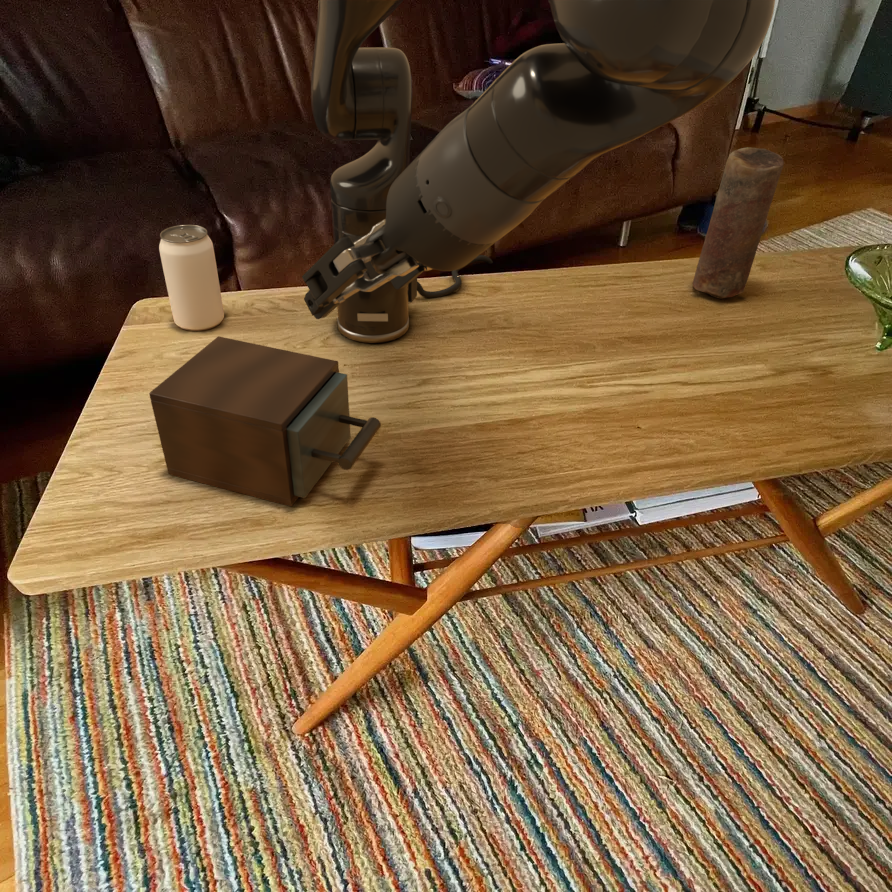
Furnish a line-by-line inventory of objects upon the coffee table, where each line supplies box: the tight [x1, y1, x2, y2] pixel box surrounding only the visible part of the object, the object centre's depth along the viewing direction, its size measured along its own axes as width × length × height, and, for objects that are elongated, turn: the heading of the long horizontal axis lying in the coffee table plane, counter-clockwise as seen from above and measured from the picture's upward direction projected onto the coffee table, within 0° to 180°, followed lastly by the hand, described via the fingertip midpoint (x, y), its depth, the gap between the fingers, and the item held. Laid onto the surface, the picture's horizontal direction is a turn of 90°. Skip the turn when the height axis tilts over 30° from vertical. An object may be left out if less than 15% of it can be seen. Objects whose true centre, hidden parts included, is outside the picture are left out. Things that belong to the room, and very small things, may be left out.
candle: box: [692, 146, 785, 299], centre depth 107 cm, size 8×7×20 cm
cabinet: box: [148, 336, 340, 507], centre depth 75 cm, size 14×12×10 cm
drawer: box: [287, 372, 382, 499], centre depth 74 cm, size 17×10×8 cm, turn 71°
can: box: [158, 224, 225, 332], centre depth 97 cm, size 6×6×12 cm
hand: (354, 292), depth 62 cm, fingers open, 8 cm apart
